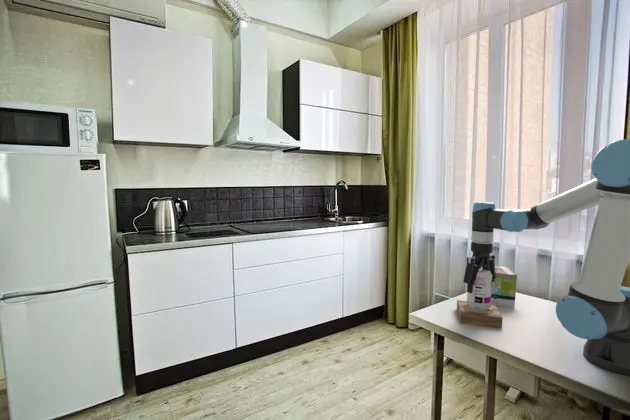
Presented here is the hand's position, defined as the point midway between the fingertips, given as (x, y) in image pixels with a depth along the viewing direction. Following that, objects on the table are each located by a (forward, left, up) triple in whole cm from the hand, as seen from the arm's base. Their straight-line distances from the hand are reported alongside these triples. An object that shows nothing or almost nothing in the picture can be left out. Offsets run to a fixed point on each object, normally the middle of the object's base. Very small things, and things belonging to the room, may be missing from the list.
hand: (478, 298), depth 128 cm
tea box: (+24, -12, -8) cm, 28 cm away
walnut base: (0, 0, -8) cm, 8 cm away
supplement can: (0, 0, -4) cm, 4 cm away
